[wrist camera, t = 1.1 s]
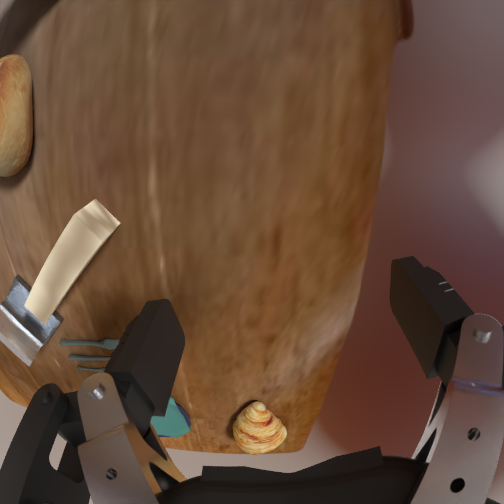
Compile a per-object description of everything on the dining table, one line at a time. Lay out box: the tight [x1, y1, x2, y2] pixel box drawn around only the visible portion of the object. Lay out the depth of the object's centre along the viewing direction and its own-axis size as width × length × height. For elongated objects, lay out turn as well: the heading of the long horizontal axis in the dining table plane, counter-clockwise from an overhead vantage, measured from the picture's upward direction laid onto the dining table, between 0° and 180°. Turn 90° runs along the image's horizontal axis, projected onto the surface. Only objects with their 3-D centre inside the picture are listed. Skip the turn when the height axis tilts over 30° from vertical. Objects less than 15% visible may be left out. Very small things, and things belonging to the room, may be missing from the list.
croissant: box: [233, 402, 287, 455], centre depth 46 cm, size 21×10×8 cm, turn 5°
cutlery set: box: [60, 338, 191, 437], centre depth 43 cm, size 20×30×2 cm, turn 5°
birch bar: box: [24, 199, 120, 325], centre depth 28 cm, size 4×18×5 cm, turn 131°
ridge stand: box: [0, 274, 64, 366], centre depth 31 cm, size 10×10×8 cm
